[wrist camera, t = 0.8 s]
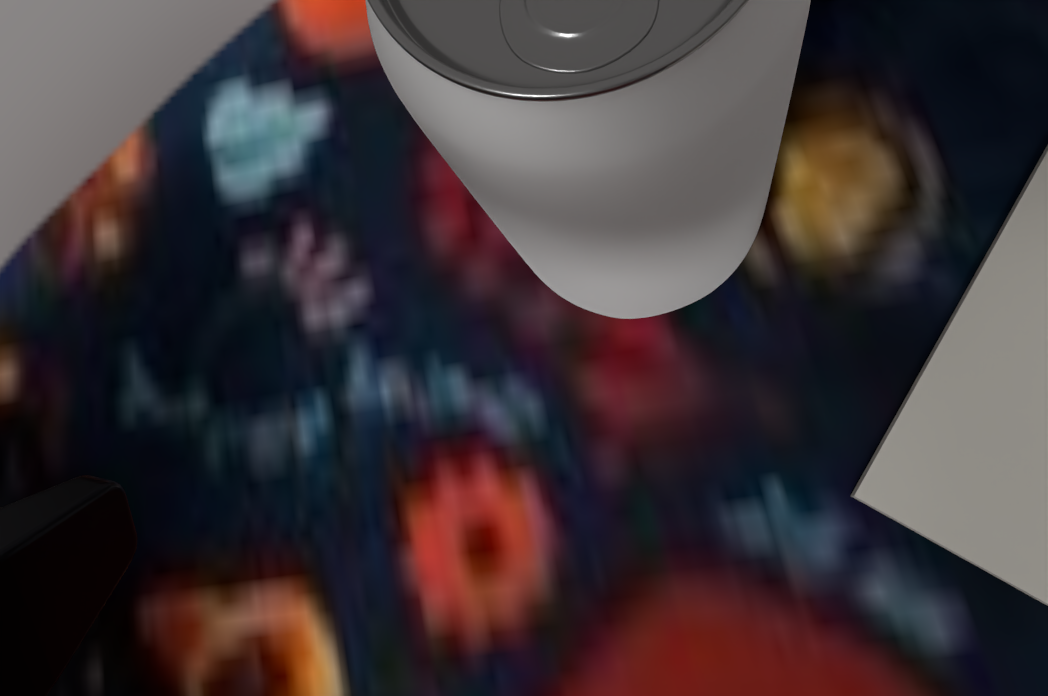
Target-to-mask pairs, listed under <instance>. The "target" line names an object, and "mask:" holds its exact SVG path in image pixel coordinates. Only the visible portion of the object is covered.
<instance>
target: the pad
mask: <svg viewBox="0 0 1048 696" xmlns="http://www.w3.org/2000/svg"><path fill="white" fill-rule="evenodd" d="M851 497H853V498H855V499H857V500H859V501H860V502H862V503H864V504H866V505H867V506H869V507H871V508H873V509H875V510H876V511H878V512H880V513H882V514H884V515H885V516H887V517H889V518H891V519H893V520H894V521H896V522H898V523H900V524H902V525H903V526H905V527H907V528H909V529H911V530H912V531H914V532H916V533H918V534H920V535H921V536H923V537H925V538H927V539H929V540H930V541H932V542H934V543H936V544H937V545H939V546H941V547H943V548H945V549H946V550H948V551H950V552H952V553H954V554H955V555H957V556H959V557H961V558H963V559H964V560H966V561H968V562H970V563H972V564H973V565H975V566H977V567H979V568H981V569H982V570H984V571H986V572H988V573H990V574H991V575H993V576H995V577H997V578H999V579H1000V580H1002V581H1004V582H1006V583H1008V584H1009V585H1011V586H1013V587H1015V588H1016V589H1018V590H1020V591H1022V592H1024V593H1025V594H1027V595H1029V596H1031V597H1033V598H1034V599H1036V600H1038V601H1040V602H1042V603H1043V604H1045V605H1047V606H1048V145H1047V147H1046V148H1045V150H1044V152H1043V154H1042V155H1041V157H1040V159H1039V161H1038V163H1037V164H1036V166H1035V168H1034V170H1033V171H1032V173H1031V175H1030V177H1029V179H1028V180H1027V182H1026V184H1025V186H1024V188H1023V189H1022V191H1021V193H1020V195H1019V196H1018V198H1017V200H1016V202H1015V204H1014V205H1013V207H1012V209H1011V211H1010V212H1009V214H1008V216H1007V218H1006V220H1005V221H1004V223H1003V225H1002V227H1001V228H1000V230H999V232H998V234H997V236H996V237H995V239H994V241H993V243H992V245H991V246H990V248H989V250H988V252H987V253H986V255H985V257H984V259H983V261H982V262H981V264H980V266H979V268H978V269H977V271H976V273H975V275H974V277H973V278H972V280H971V282H970V284H969V285H968V287H967V289H966V291H965V293H964V294H963V296H962V298H961V300H960V301H959V303H958V305H957V307H956V309H955V310H954V312H953V314H952V316H951V318H950V319H949V321H948V323H947V325H946V326H945V328H944V330H943V332H942V334H941V335H940V337H939V339H938V341H937V342H936V344H935V346H934V348H933V350H932V351H931V353H930V355H929V357H928V358H927V360H926V362H925V364H924V366H923V367H922V369H921V371H920V373H919V375H918V376H917V378H916V380H915V382H914V383H913V385H912V387H911V389H910V391H909V392H908V394H907V396H906V398H905V399H904V401H903V403H902V405H901V407H900V408H899V410H898V412H897V414H896V415H895V417H894V419H893V421H892V423H891V424H890V426H889V428H888V430H887V432H886V433H885V435H884V437H883V439H882V440H881V442H880V444H879V446H878V448H877V449H876V451H875V453H874V455H873V456H872V458H871V460H870V462H869V464H868V465H867V467H866V469H865V471H864V472H863V474H862V476H861V478H860V480H859V481H858V483H857V485H856V487H855V488H854V490H853V492H852V494H851Z"/></svg>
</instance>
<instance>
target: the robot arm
mask: <svg viewBox="0 0 1048 696" xmlns="http://www.w3.org/2000/svg"><path fill="white" fill-rule="evenodd" d="M136 547H137V533H136V530H135V526H134V522H133V519H132V515H131V511H130V508H129V504H128V500H127V497H126V493H125V491H124V489H123V487H122V486H121V485H120V484H119V483H117V482H115V481H111V480H107V479H103V478H99V477H95V476H90V475H84V476H79V477H76V478H74V479H71V480H69V481H66V482H64V483H61V484H59V485H56V486H54V487H51V488H49V489H46V490H44V491H41V492H39V493H36V494H34V495H32V496H29V497H27V498H24V499H22V500H19V501H17V502H14V503H12V504H9V505H7V506H4V507H2V508H0V696H46V695H47V694H48V693H49V691H50V690H51V688H52V687H53V686H54V684H55V683H56V681H57V680H58V678H59V677H60V675H61V674H62V672H63V671H64V669H65V668H66V666H67V665H68V663H69V662H70V660H71V658H72V657H73V655H74V653H75V652H76V650H77V649H78V647H79V645H80V644H81V642H82V640H83V639H84V637H85V636H86V634H87V632H88V631H89V629H90V627H91V626H92V624H93V623H94V621H95V619H96V618H97V616H98V614H99V613H100V611H101V610H102V608H103V606H104V605H105V603H106V601H107V600H108V598H109V597H110V595H111V593H112V592H113V590H114V588H115V587H116V585H117V584H118V582H119V580H120V579H121V577H122V575H123V574H124V572H125V571H126V569H127V567H128V566H129V564H130V562H131V561H132V559H133V556H134V554H135V551H136Z"/></svg>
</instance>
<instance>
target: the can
mask: <svg viewBox="0 0 1048 696" xmlns="http://www.w3.org/2000/svg"><path fill="white" fill-rule="evenodd" d="M810 2H811V0H366V8H367V16H368V22H369V28H370V32H371V36H372V40H373V43H374V47H375V50H376V53H377V55H378V58H379V60H380V63H381V65H382V67H383V69H384V71H385V73H386V75H387V77H388V79H389V81H390V83H391V85H392V87H393V89H394V90H395V92H396V94H397V95H398V97H399V98H400V100H401V101H402V103H403V104H404V106H405V107H406V108H407V110H408V111H409V113H410V114H411V116H412V117H413V119H414V120H415V121H416V123H417V124H418V125H419V127H420V128H421V129H422V131H423V132H424V133H425V135H426V136H427V137H428V139H429V140H430V141H431V143H432V144H433V145H434V147H435V148H436V149H437V150H438V152H439V153H440V154H441V156H442V157H443V158H444V159H445V161H446V162H447V163H448V165H449V166H450V167H451V168H452V170H453V171H454V172H455V174H456V175H457V176H458V177H459V179H460V180H461V181H462V183H463V184H464V185H465V186H466V188H467V189H468V190H469V191H470V193H471V194H472V195H473V197H474V198H475V199H476V200H477V202H478V203H479V204H480V205H481V207H482V208H483V209H484V211H485V212H486V213H487V214H488V216H489V217H490V218H491V219H492V221H493V222H494V223H495V225H496V226H497V227H498V228H499V230H500V231H501V232H502V233H503V235H504V236H505V237H506V238H507V240H508V241H509V242H510V243H511V245H512V246H513V247H514V248H515V250H516V251H517V252H518V253H519V255H520V256H521V257H522V258H523V260H524V261H525V262H526V263H527V264H528V266H529V267H530V268H531V269H532V270H533V271H534V273H535V274H536V275H537V276H538V277H539V278H540V279H541V280H542V281H543V282H544V283H545V284H546V285H547V286H548V287H549V288H550V289H552V290H553V291H554V292H556V293H557V294H558V295H560V296H561V297H563V298H564V299H566V300H567V301H569V302H571V303H573V304H575V305H577V306H579V307H581V308H583V309H586V310H589V311H591V312H594V313H598V314H601V315H605V316H609V317H614V318H622V319H634V318H645V317H651V316H656V315H660V314H664V313H667V312H670V311H674V310H676V309H679V308H682V307H684V306H687V305H689V304H691V303H693V302H695V301H697V300H699V299H701V298H703V297H704V296H706V295H708V294H709V293H711V292H712V291H713V290H715V289H716V288H717V287H719V286H720V285H721V284H722V283H723V282H724V281H725V280H726V279H727V278H728V277H729V276H730V275H731V274H732V273H733V272H734V271H735V270H736V268H737V267H738V266H739V265H740V263H741V262H742V261H743V259H744V258H745V256H746V254H747V253H748V251H749V249H750V248H751V246H752V244H753V242H754V240H755V237H756V235H757V233H758V230H759V227H760V224H761V221H762V218H763V214H764V210H765V206H766V203H767V199H768V194H769V190H770V186H771V182H772V177H773V173H774V169H775V164H776V160H777V156H778V151H779V147H780V142H781V138H782V134H783V129H784V125H785V120H786V116H787V111H788V107H789V102H790V98H791V93H792V89H793V84H794V79H795V75H796V70H797V66H798V61H799V56H800V52H801V47H802V42H803V38H804V33H805V28H806V23H807V18H808V13H809V8H810Z"/></svg>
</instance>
